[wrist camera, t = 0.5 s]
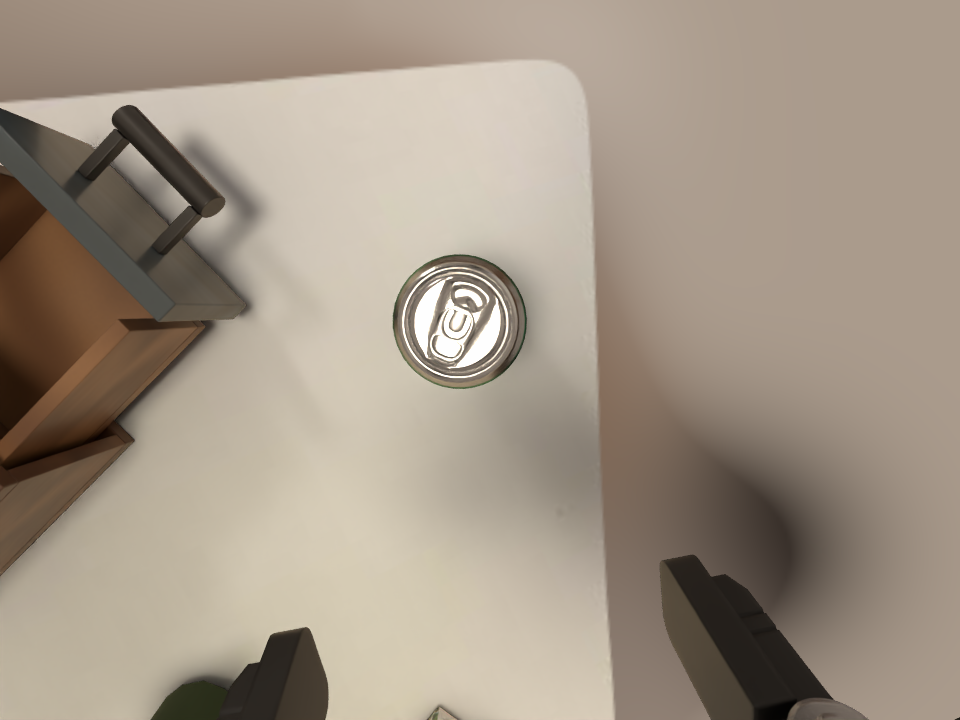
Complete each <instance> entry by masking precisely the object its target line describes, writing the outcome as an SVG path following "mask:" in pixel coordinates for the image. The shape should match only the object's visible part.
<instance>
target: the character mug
mask: <svg viewBox="0 0 960 720" xmlns="http://www.w3.org/2000/svg"><path fill="white" fill-rule="evenodd" d="M227 693H228V691H226V690H225V689H224V688H221V687H219V686H216V685H214V684H211V683H208V682H206V681H199V682H195V683H190V684H185V685H182V686H181V687H179V688H178V689H177V690H175V691H174V692H173V693H171V694H170V695H169V696H167V697H166V699H165V700H164V702H163V703H162V704H161V706H160V707H159V709H158V710H157V712H156V713H155V714H154V716H153V717H152V719H151V720H216V719H217V717H219V712H220V709H221V707H222V704H223V702H224V700H225V697H226V695H227Z"/></svg>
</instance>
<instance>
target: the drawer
mask: <svg viewBox="0 0 960 720" xmlns="http://www.w3.org/2000/svg"><path fill="white" fill-rule="evenodd" d="M112 123H113V125H114V126H115V127H116V128H117V129H118V130H117V129H114V130H113V131H112V132H111V133H110V134H109V135H108V136H107V137H106V139H105V140H104V141H103V142H102V143H101V144H100V145H99V146H98V147H97V148H96V149H94V148H93V147H92V146H91V145H89V144H87V143H85V142H82V141H80V140H77V139H75V138H72V137H70V136H67V135H65V134H62V133H60V132H58V131H55V130H53V129H50V128H48V127H45V126H43V125H40V124H38V123H35V122H33V121H31V120H28V119H26V118H23V117H21V116H18V115H16V114H13V113H11V112H8V111H6V110H4V109H1V108H0V163H1V164H2V165H3V166H1V165H0V465H1V466H2V467H3V468H4V469H5V470H6V471H7V470H10V469H13V468H16V467H19V466H22V465H25V464H28V463H31V462H34V461H37V460H40V459H43V458H46V457H49V456H52V455H55V454H58V453H61V452H64V451H67V450H70V449H74V448H77V447H80V446H83V445H86V444H89V443H92V442H93V441H94V440H95V439H96V438H97V437H98V436H99V435H100V434H101V433H102V432H103V431H104V430H105V429H106V428H107V427H108V426H109V425H110V424H111V423H112V422H113V421H114V420H115V419H116V418H117V417H118V416H119V414H120V413H121V412H122V411H123V410H124V409H125V408H126V407H127V406H128V405H129V404H130V403H131V402H132V401H133V400H134V399H135V398H136V397H137V396H138V395H139V394H140V393H141V392H142V391H143V390H144V389H145V388H146V387H147V386H148V385H149V384H150V383H151V382H152V381H153V380H154V379H155V378H156V377H157V376H158V375H159V374H160V373H161V372H162V371H163V370H164V369H165V368H166V367H167V366H168V365H169V364H170V363H171V362H172V361H173V360H174V359H175V358H176V357H177V356H178V355H179V354H180V353H181V352H182V351H183V350H184V348H185V347H186V346H187V345H188V344H189V343H190V342H191V341H192V340H193V339H194V338H195V337H196V336H197V335H198V334H199V333H200V332H201V331H202V330H203V329H204V328H205V325H204V324H203V323H202V322H201V321H200V320H225V319H234V318H235V317H236V316H237V315H238V314H239V313H240V312H241V311H242V310H243V309H244V308H245V307H246V304H245V303H244V302H243V301H242V300H241V299H240V298H239V297H238V296H237V295H236V294H235V293H234V292H233V291H232V290H231V289H230V288H229V287H228V286H227V284H226V283H225V282H224V281H223V280H222V279H221V278H220V277H219V276H218V275H217V274H216V273H215V272H214V271H213V270H212V269H211V268H210V267H209V266H208V265H207V264H206V263H205V262H204V261H203V260H202V259H201V258H200V257H199V256H198V255H197V254H196V253H195V252H194V251H193V250H192V249H191V248H190V247H189V246H188V244H187V243H186V242H185V241H184V240H183V239H182V238H183V237H184V236H185V235H186V234H187V233H188V232H189V231H190V230H191V228H192V227H193V226H194V225H195V224H196V223H197V222H198V221H199V220H200V219H201V218H202V217H204V218H208V217H211V216H214V215H215V214H217V213H218V212H219V211H220V210H221V209H222V208H223V207H224V205H225V198H224V197H223V196H222V195H221V194H220V193H219V192H218V191H217V190H216V189H215V188H214V187H213V186H212V185H211V184H210V183H209V182H208V181H207V180H206V179H205V178H204V177H203V175H202V174H201V173H200V172H199V171H198V170H197V169H196V168H195V167H194V166H193V165H192V164H191V163H190V162H189V161H188V160H187V159H186V158H185V157H184V156H183V155H182V154H181V153H180V152H179V151H178V150H177V149H176V147H175V146H174V145H173V144H172V143H171V142H170V141H169V140H168V139H167V138H166V137H165V136H164V135H163V134H162V133H161V132H160V131H159V130H158V129H157V128H156V127H155V126H154V125H153V124H152V123H151V122H150V121H149V120H148V118H147V117H146V116H145V115H144V114H143V113H142V112H141V111H140V110H139V109H138V108H137V107H135V106H132V105H126V106H123V107H121V108H119V109H118V110H116V111H115V113H114V114H113V116H112ZM129 143H131V144H132V145H133V146H134V147H135V148H136V149H137V150H138V151H139V152H140V153H141V154H142V155H143V156H144V157H145V158H146V159H147V160H148V161H149V162H150V164H151V165H152V166H153V167H154V168H155V169H156V170H157V171H158V172H159V173H160V174H161V175H162V176H163V177H164V178H165V179H166V180H167V181H168V182H169V183H170V184H171V185H172V186H173V187H174V188H175V189H176V190H177V191H178V192H179V193H180V194H181V195H182V196H183V198H184V199H185V200H186V201H187V202H188V203H189V204H190V205H191V206H188V207H187V208H186V209H185V210H184V211H183V212H182V213H181V214H180V215H179V216H178V217H177V219H176V220H175V221H174V222H173V223H172V224H171V225H170V226H169V225H168V224H167V223H166V222H165V221H164V220H163V219H162V218H161V217H160V216H159V215H158V214H157V213H156V212H155V211H154V210H153V209H152V208H151V207H150V206H149V204H148V203H147V202H146V201H145V200H144V199H143V198H142V197H141V196H140V195H139V194H138V193H137V192H136V191H135V190H134V189H133V188H132V187H131V186H130V185H129V184H128V183H127V182H126V181H125V180H124V179H123V178H122V177H121V176H120V175H119V174H118V173H117V172H116V171H115V170H114V169H113V168H112V167H111V166H110V163H111V162H112V161H113V160H114V159H115V158H116V157H117V156H118V155H119V154H120V153H121V151H122V150H123V149H124V148H125V147H126V146H127V145H128V144H129Z"/></svg>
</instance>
